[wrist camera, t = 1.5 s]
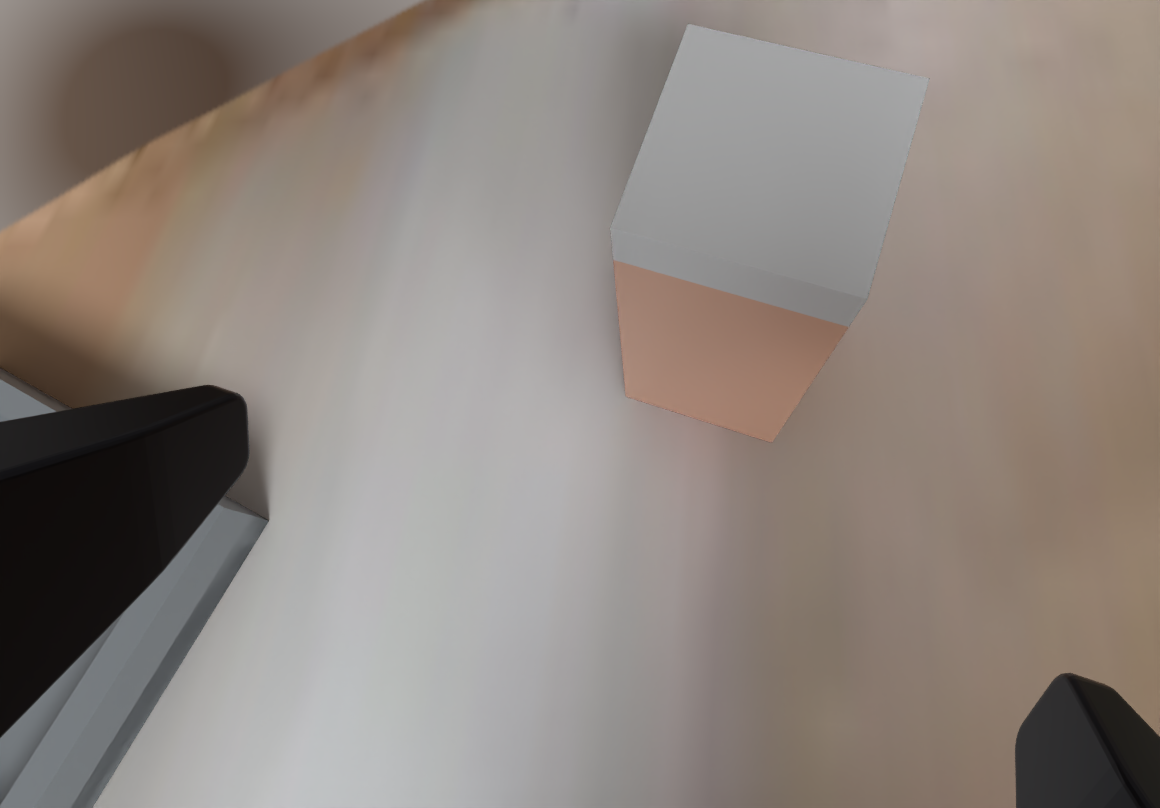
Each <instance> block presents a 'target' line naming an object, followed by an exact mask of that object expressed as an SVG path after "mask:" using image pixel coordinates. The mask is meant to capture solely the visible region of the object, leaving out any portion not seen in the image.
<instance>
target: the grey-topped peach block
mask: <svg viewBox="0 0 1160 808" xmlns="http://www.w3.org/2000/svg"><path fill="white" fill-rule="evenodd" d="M929 79H930V78H926V77H921V76H917V75H912V74H908V73H904V72H899V71H895V70H890V69H886V68H882V67H877V66H873V65H868V64H864V63H859V62H855V61H851V60H846V59H842V58H837V57H833V56H829V55H824V54H820V53H815V52H811V51H807V50H802V49H798V48H793V47H789V46H784V45H780V44H776V43H771V42H767V41H762V40H758V39H754V38H749V37H745V36H740V35H736V34H732V33H727V32H723V31H718V30H714V29H709V28H705V27H701V26H696V25H692V24H688V25H687V28H686V30H685V33H684V35H683V38H682V41H681V43H680V46H679V48H678V51H677V54H676V56H675V59H674V62H673V64H672V67H671V69H670V72H669V75H668V77H667V80H666V83H665V85H664V88H663V90H662V93H661V96H660V98H659V101H658V104H657V106H656V109H655V111H654V114H653V117H652V119H651V122H650V124H649V127H648V130H647V132H646V135H645V138H644V140H643V143H642V145H641V148H640V151H639V153H638V156H637V159H636V161H635V164H634V166H633V169H632V172H631V174H630V177H629V179H628V182H627V185H626V187H625V190H624V193H623V195H622V198H621V200H620V203H619V206H618V208H617V211H616V214H615V216H614V219H613V221H612V224H611V227H610V232H611V242H612V253H613V264H614V275H615V286H616V296H617V307H618V318H619V329H620V340H621V350H622V361H623V372H624V383H625V394H626V397H629V398H632V399H635V400H638V401H641V402H645V403H648V404H651V405H654V406H657V407H660V408H663V409H667V410H670V411H673V412H676V413H679V414H682V415H686V416H689V417H692V418H695V419H698V420H701V421H705V422H708V423H711V424H714V425H717V426H720V427H723V428H727V429H730V430H733V431H736V432H739V433H742V434H746V435H749V436H752V437H755V438H758V439H761V440H765V441H768V442H771V443H772V442H773V441H774V439H775V438H776V436H777V434H778V433H779V431H780V430H781V428H782V427H783V425H784V424H785V422H786V421H787V419H788V418H789V416H790V415H791V413H792V412H793V410H794V409H795V407H796V406H797V404H798V403H799V401H800V400H801V398H802V397H803V395H804V394H805V392H806V391H807V389H808V388H809V386H810V385H811V383H812V382H813V380H814V379H815V377H816V376H817V374H818V373H819V371H820V370H821V368H822V367H823V365H824V364H825V362H826V361H827V359H828V358H829V356H830V355H831V353H832V352H833V350H834V349H835V347H836V346H837V344H838V343H839V341H840V340H841V338H842V337H843V335H844V334H845V332H846V331H847V329H848V327H849V326H850V324H851V323H852V321H853V320H854V318H855V317H856V315H857V314H858V312H859V311H860V309H861V308H862V306H863V305H864V303H865V302H866V300H867V298H868V295H869V291H870V288H871V284H872V281H873V277H874V274H875V270H876V267H877V263H878V259H879V256H880V252H881V249H882V245H883V242H884V238H885V235H886V231H887V228H888V224H889V220H890V217H891V213H892V210H893V206H894V203H895V199H896V196H897V192H898V189H899V185H900V181H901V178H902V174H903V171H904V167H905V164H906V160H907V157H908V153H909V150H910V146H911V142H912V139H913V135H914V132H915V128H916V125H917V121H918V118H919V114H920V111H921V107H922V104H923V100H924V96H925V93H926V89H927V86H928V82H929Z"/></svg>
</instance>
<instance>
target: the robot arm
mask: <svg viewBox="0 0 1160 808" xmlns="http://www.w3.org/2000/svg"><path fill="white" fill-rule="evenodd" d="M248 458H249V434H248V415H247V404H246V402H245V400H244V398H243V397H242V396H241V395H240V394H238V393H235V392H232V391H229V390H226V389H223V388H220V387H217V386H214V385H203V386H197V387H192V388H186V389H180V390H175V391H169V392H164V393H158V394H153V395H147V396H141V397H136V398H130V399H125V400H119V401H114V402H108V403H102V404H97V405H91V406H86V407H80V408H75V409H69V410H63V411H58V412H52V413H47V414H41V415H36V416H30V417H25V418H19V419H13V420H8V421H2V422H0V738H1V737H2V736H3V735H4V734H5V733H6V732H7V731H8V730H9V729H10V728H11V727H12V726H13V725H14V724H15V723H16V722H17V721H18V720H19V719H20V718H21V717H22V716H23V715H24V714H25V713H26V712H27V711H28V710H29V709H30V708H31V707H32V706H33V705H34V704H35V703H36V702H37V701H38V699H39V698H40V697H41V696H42V695H43V694H44V693H45V692H46V691H47V690H48V689H49V688H50V687H51V686H52V685H53V684H54V683H55V682H56V681H57V680H58V679H59V678H60V677H61V676H62V675H63V674H64V673H65V672H66V671H67V670H68V669H69V668H70V667H71V666H72V665H73V664H74V663H75V662H76V661H77V660H78V659H79V658H80V657H81V656H82V655H83V654H84V653H85V652H86V651H87V649H88V648H89V647H90V646H91V645H92V644H93V643H94V642H95V641H96V640H97V639H98V638H99V637H100V636H101V635H102V634H103V633H104V632H105V631H106V630H107V629H108V628H109V627H110V626H111V625H112V624H113V623H114V622H115V621H116V620H117V619H118V618H119V617H120V616H121V615H122V614H123V613H124V612H125V611H126V610H127V609H128V608H129V607H130V606H131V605H132V604H133V603H134V602H135V600H136V599H137V598H138V597H139V596H140V595H141V594H142V593H143V592H144V591H145V590H146V589H147V588H148V587H149V586H150V585H151V584H152V583H153V582H154V581H155V580H156V579H157V578H158V576H159V575H160V574H161V573H162V572H163V571H164V570H165V569H166V567H167V566H168V565H169V564H170V563H171V562H172V560H173V559H174V558H175V557H176V556H177V555H178V553H179V552H180V551H181V550H182V548H183V547H184V546H185V545H186V543H187V542H188V541H189V540H190V538H191V537H192V536H193V535H194V533H195V532H196V531H197V530H198V528H199V527H200V526H201V525H202V523H203V522H204V521H205V520H206V518H207V517H208V516H209V515H210V513H211V512H212V511H213V510H214V508H215V507H216V506H217V505H218V503H219V502H220V501H221V500H222V498H223V497H224V496H225V495H226V493H227V492H228V491H229V490H230V488H231V487H232V486H233V485H234V483H235V482H236V481H237V480H238V478H239V477H240V476H241V474H242V473H243V471H244V469H245V467H246V465H247V462H248ZM1015 768H1016V808H1160V737H1159V736H1158V735H1157V734H1156V733H1155V731H1154V730H1153V729H1152V728H1151V727H1150V726H1149V725H1148V724H1147V723H1146V722H1145V721H1144V720H1143V719H1142V718H1141V717H1140V716H1139V715H1138V714H1137V713H1136V712H1135V711H1134V710H1133V708H1132V707H1131V706H1130V705H1129V704H1128V703H1127V702H1126V701H1125V700H1124V699H1123V698H1122V697H1121V696H1120V695H1119V694H1118V693H1117V692H1116V691H1115V690H1114V689H1113V688H1111V687H1109V686H1107V685H1105V684H1102V683H1099V682H1096V681H1093V680H1090V679H1087V678H1084V677H1081V676H1078V675H1075V674H1073V673H1064V674H1060V675H1059V676H1057V677H1056V678H1055V679H1054V680H1053V681H1052V682H1051V684H1050V685H1049V687H1048V688H1047V689H1046V691H1045V692H1044V694H1043V695H1042V696H1041V698H1040V699H1039V701H1038V702H1037V703H1036V705H1035V706H1034V708H1033V709H1032V710H1031V712H1030V713H1029V715H1028V716H1027V717H1026V719H1025V720H1024V722H1023V723H1022V725H1021V727H1020V729H1019V732H1018V735H1017V739H1016V745H1015Z"/></svg>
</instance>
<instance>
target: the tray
mask: <svg viewBox="0 0 1160 808" xmlns="http://www.w3.org/2000/svg"><path fill="white" fill-rule="evenodd" d="M69 409H72V408H70V407H68V406H67V405H65V404H63V403H61V402H59V401H58V400H56V399H54V398H52V397H51V396H49V395H47V394H45V393H44V392H42V391H40V390H38V389H37V388H35V387H33V386H31V385H30V384H28V383H26V382H24V381H23V380H21V379H19V378H17V377H16V376H14V375H12V374H10V373H9V372H7V371H5V370H3V369H2V368H0V422H2V421H8V420H13V419H19V418H25V417H30V416H36V415H41V414H47V413H52V412H58V411H63V410H69ZM267 523H268V520H267V519H265V518H263V517H261V516H260V515H258V514H256V513H254V512H253V511H251V510H249V509H247V508H246V507H244V506H242V505H240V504H239V503H237V502H235V501H233V500H232V499H230V498H228V497H226V496H224V497H223V498H222V500H221V501H220V502H219V503H218V505H217V506H216V507H215V508H214V510H213V511H212V512H211V513H210V515H209V516H208V517H207V518H206V520H205V521H204V522H203V523H202V525H201V526H200V527H199V528H198V530H197V531H196V532H195V533H194V535H193V536H192V537H191V538H190V540H189V541H188V542H187V543H186V545H185V546H184V547H183V548H182V550H181V551H180V552H179V553H178V555H177V556H176V557H175V558H174V559H173V560H172V562H171V563H170V564H169V565H168V566H167V567H166V569H165V570H164V571H163V572H162V573H161V574H160V575H159V576H158V578H157V579H156V580H155V581H154V582H153V583H152V584H151V585H150V586H149V587H148V588H147V589H146V590H145V591H144V592H143V593H142V594H141V595H140V596H139V597H138V598H137V599H136V600H135V602H134V603H133V604H132V605H131V606H130V607H129V608H128V609H127V610H126V611H125V612H124V613H123V614H122V615H121V616H120V617H119V618H118V619H117V620H116V621H115V622H114V623H113V624H112V625H111V626H110V627H109V628H108V629H107V630H106V631H105V632H104V633H103V634H102V635H101V636H100V637H99V638H98V639H97V640H96V641H95V642H94V643H93V644H92V645H91V646H90V647H89V648H88V649H87V651H86V652H85V653H84V654H83V655H82V656H81V657H80V658H79V659H78V660H77V661H76V662H75V663H74V664H73V665H72V666H71V667H70V668H69V669H68V670H67V671H66V672H65V673H64V674H63V675H62V676H61V677H60V678H59V679H58V680H57V681H56V682H55V683H54V684H53V685H52V686H51V687H50V688H49V689H48V690H47V691H46V692H45V693H44V694H43V695H42V696H41V697H40V698H39V699H38V701H37V702H36V703H35V704H34V705H33V706H32V707H31V708H30V709H29V710H28V711H27V712H26V713H25V714H24V715H23V716H22V717H21V718H20V719H19V720H18V721H17V722H16V723H15V724H14V725H13V726H12V727H11V728H10V729H9V730H8V731H7V732H6V733H5V734H4V735H3V736H2V737H1V738H0V808H92V807H93V806H94V804H95V802H96V801H97V799H98V797H99V796H100V794H101V793H102V791H103V789H104V788H105V786H106V784H107V783H108V781H109V780H110V778H111V776H112V775H113V773H114V771H115V770H116V768H117V767H118V765H119V763H120V762H121V760H122V758H123V757H124V755H125V754H126V752H127V750H128V749H129V747H130V745H131V744H132V742H133V741H134V739H135V737H136V736H137V734H138V732H139V731H140V729H141V728H142V726H143V724H144V723H145V721H146V720H147V718H148V716H149V715H150V713H151V711H152V710H153V708H154V707H155V705H156V703H157V702H158V700H159V698H160V697H161V695H162V694H163V692H164V690H165V689H166V687H167V685H168V684H169V682H170V681H171V679H172V677H173V676H174V674H175V672H176V671H177V669H178V668H179V666H180V664H181V663H182V661H183V659H184V658H185V656H186V655H187V653H188V651H189V650H190V648H191V646H192V645H193V643H194V642H195V640H196V638H197V637H198V635H199V633H200V632H201V630H202V629H203V627H204V625H205V624H206V622H207V620H208V619H209V617H210V616H211V614H212V612H213V611H214V609H215V607H216V606H217V604H218V603H219V601H220V599H221V598H222V596H223V594H224V593H225V591H226V590H227V588H228V586H229V585H230V583H231V581H232V580H233V578H234V577H235V575H236V573H237V572H238V570H239V568H240V567H241V565H242V564H243V562H244V560H245V559H246V557H247V555H248V554H249V552H250V551H251V549H252V547H253V546H254V544H255V542H256V541H257V539H258V538H259V536H260V534H261V533H262V531H263V529H264V528H265V526H266V525H267Z"/></svg>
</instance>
